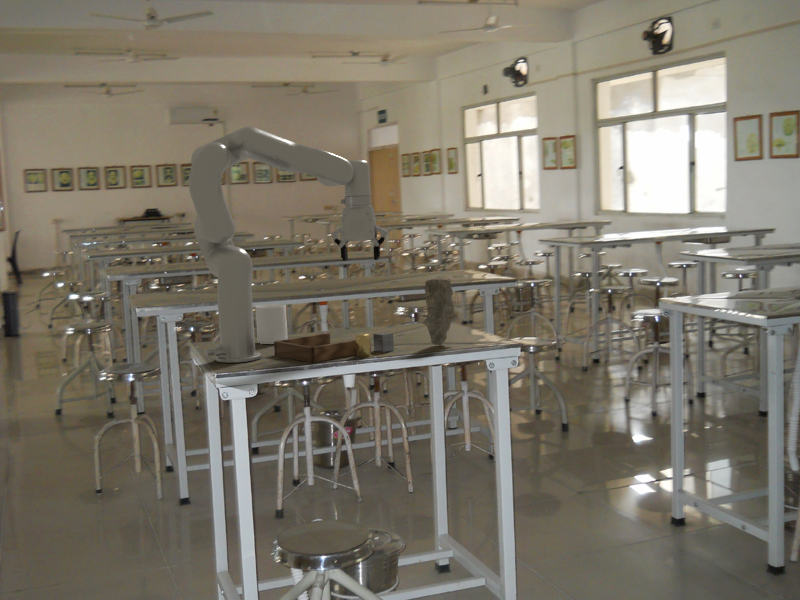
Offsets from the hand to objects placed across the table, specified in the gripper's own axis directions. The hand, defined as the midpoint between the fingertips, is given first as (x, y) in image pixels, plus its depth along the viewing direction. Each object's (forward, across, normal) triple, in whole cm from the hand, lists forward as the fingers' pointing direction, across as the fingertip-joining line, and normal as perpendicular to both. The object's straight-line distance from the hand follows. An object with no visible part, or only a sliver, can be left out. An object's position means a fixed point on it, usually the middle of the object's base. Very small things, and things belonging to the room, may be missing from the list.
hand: (360, 260), depth 244 cm
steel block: (+26, +9, -12) cm, 29 cm away
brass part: (+25, +5, -20) cm, 33 cm away
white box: (+26, -32, +5) cm, 41 cm away
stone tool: (+26, +24, -3) cm, 35 cm away
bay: (+25, -9, -17) cm, 32 cm away
